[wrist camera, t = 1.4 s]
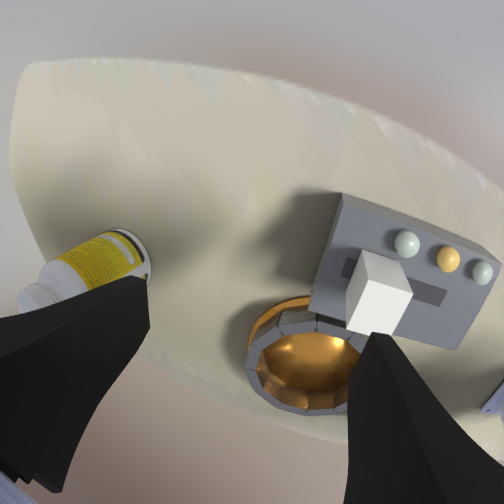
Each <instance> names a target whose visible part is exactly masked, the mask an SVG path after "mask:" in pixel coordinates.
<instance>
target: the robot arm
mask: <svg viewBox="0 0 504 504" xmlns="http://www.w3.org/2000/svg"><path fill="white" fill-rule="evenodd" d="M149 329H150V321H149V310H148V297H147V281H146V279H143V278H140V277H136V276H133V275H129V276H126V277H123V278H120V279H117V280H114V281H112V282H109V283H107V284H104V285H102V286H99V287H97V288H94V289H92V290H89V291H87V292H84V293H82V294H79V295H77V296H74V297H71V298H68V299H66V300H63V301H60V302H57V303H55V304H52V305H49V306H46V307H43V308H40V309H37V310H33V311H30V312H26V313H22V314H19V315H14V316H9V317H4V318H0V504H38V503H37V502H35V501H34V500H33V499H32V498H30V497H29V496H28V495H27V494H26V493H25V492H24V491H22V490H21V489H20V488H19V487H18V486H17V485H16V484H15V482H16V481H17V479H18V478H20V479H22V480H23V481H24V482H25V483H26V484H29V483H30V482H31V480H32V479H34V480H35V481H37V482H38V483H39V484H41V485H42V486H44V487H45V488H46V489H48V490H49V491H50V492H52V493H60V492H62V489H63V485H64V482H65V479H66V475H67V472H68V469H69V466H70V463H71V461H72V458H73V456H74V453H75V451H76V448H77V446H78V443H79V441H80V439H81V437H82V435H83V433H84V431H85V428H86V426H87V424H88V423H89V421H90V419H91V417H92V415H93V413H94V411H95V410H96V408H97V406H98V404H99V403H100V401H101V400H102V398H103V397H104V395H105V394H106V393H107V391H108V390H109V388H110V387H111V386H112V384H113V383H114V382H115V380H116V379H117V377H118V376H119V375H120V374H121V372H122V371H123V370H124V368H125V367H126V366H127V364H128V363H129V362H130V360H131V359H132V358H133V356H134V355H135V353H136V352H137V351H138V349H139V347H140V345H141V344H142V342H143V340H144V338H145V336H146V334H147V333H148V331H149ZM481 412H482V413H487V414H500V417H501V420H502V423H503V426H504V383H503V384H502V385H501V386H500V387H499V389H498V390H497V391H496V392H495V393H494V395H493V396H492V397H491V398H490V399H489V400H488V401H487V403H486V404H485V405H484V406H483V407H482V408H481ZM347 415H348V450H349V451H348V452H349V453H348V455H349V465H348V477H347V485H346V491H345V497H344V503H343V504H504V467H503V466H502V465H501V464H499V463H498V462H497V461H496V460H495V459H493V458H492V457H491V456H490V455H489V454H487V453H486V452H485V451H484V450H483V449H482V448H481V447H480V446H479V445H478V444H477V443H476V442H474V441H473V440H472V439H471V438H470V437H469V436H468V435H467V433H466V432H465V431H464V430H463V429H462V428H461V427H460V426H459V425H458V424H457V422H456V421H455V420H454V419H453V418H452V417H451V416H450V415H449V413H448V412H447V411H446V410H445V408H444V407H443V406H442V405H441V403H440V402H439V401H438V400H437V398H436V397H435V396H434V394H433V393H432V392H431V390H430V389H429V388H428V386H427V385H426V384H425V382H424V381H423V380H422V378H421V377H420V375H419V374H418V373H417V371H416V370H415V368H414V367H413V366H412V364H411V363H410V361H409V360H408V359H407V357H406V356H405V354H404V353H403V352H402V350H401V349H400V348H399V346H398V345H397V343H396V342H395V341H394V340H393V338H392V337H391V336H390V335H389V334H383V333H377V332H371V334H370V336H369V338H368V340H367V342H366V345H365V347H364V349H363V351H362V353H361V355H360V357H359V359H358V360H357V362H356V364H355V366H354V368H353V370H352V372H351V374H350V376H349V385H348V398H347Z"/></svg>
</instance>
